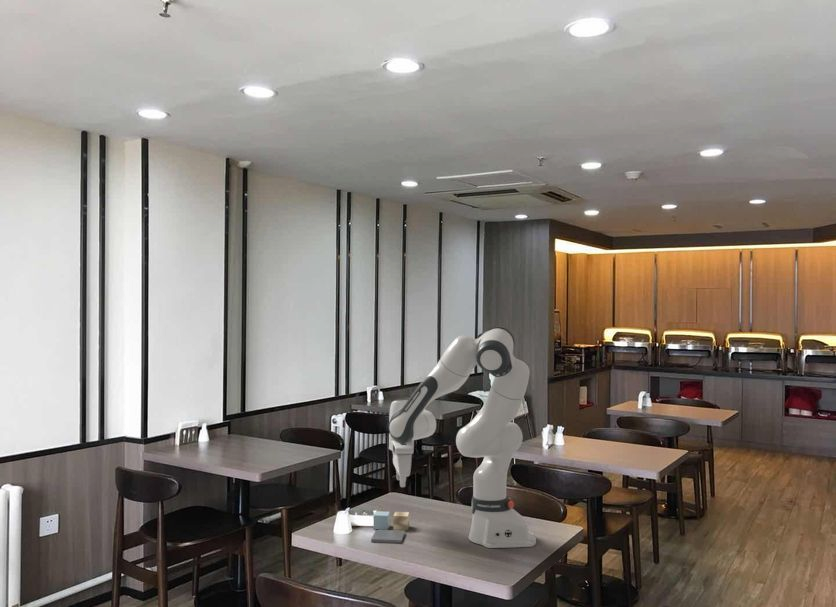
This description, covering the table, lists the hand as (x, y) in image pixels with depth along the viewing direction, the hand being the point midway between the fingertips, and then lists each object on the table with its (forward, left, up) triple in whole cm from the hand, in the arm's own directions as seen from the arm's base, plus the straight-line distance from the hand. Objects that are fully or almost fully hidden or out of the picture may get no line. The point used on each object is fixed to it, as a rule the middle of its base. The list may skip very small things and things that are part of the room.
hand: (400, 483), depth 239 cm
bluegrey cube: (+7, 0, -16) cm, 17 cm away
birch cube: (0, 0, -16) cm, 16 cm away
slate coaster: (+3, +11, -16) cm, 19 cm away
